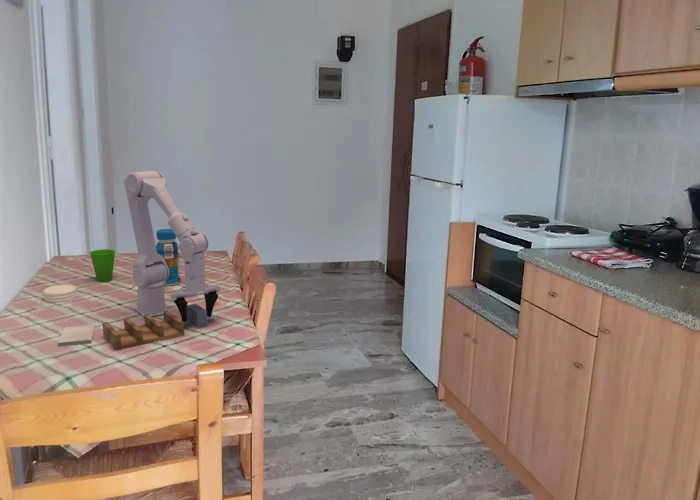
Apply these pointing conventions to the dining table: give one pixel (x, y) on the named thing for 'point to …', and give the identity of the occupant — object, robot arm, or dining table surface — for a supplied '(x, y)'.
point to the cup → (103, 264)
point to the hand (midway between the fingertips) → (196, 318)
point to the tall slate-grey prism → (197, 315)
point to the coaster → (59, 293)
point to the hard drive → (76, 335)
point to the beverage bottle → (169, 254)
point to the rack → (143, 331)
